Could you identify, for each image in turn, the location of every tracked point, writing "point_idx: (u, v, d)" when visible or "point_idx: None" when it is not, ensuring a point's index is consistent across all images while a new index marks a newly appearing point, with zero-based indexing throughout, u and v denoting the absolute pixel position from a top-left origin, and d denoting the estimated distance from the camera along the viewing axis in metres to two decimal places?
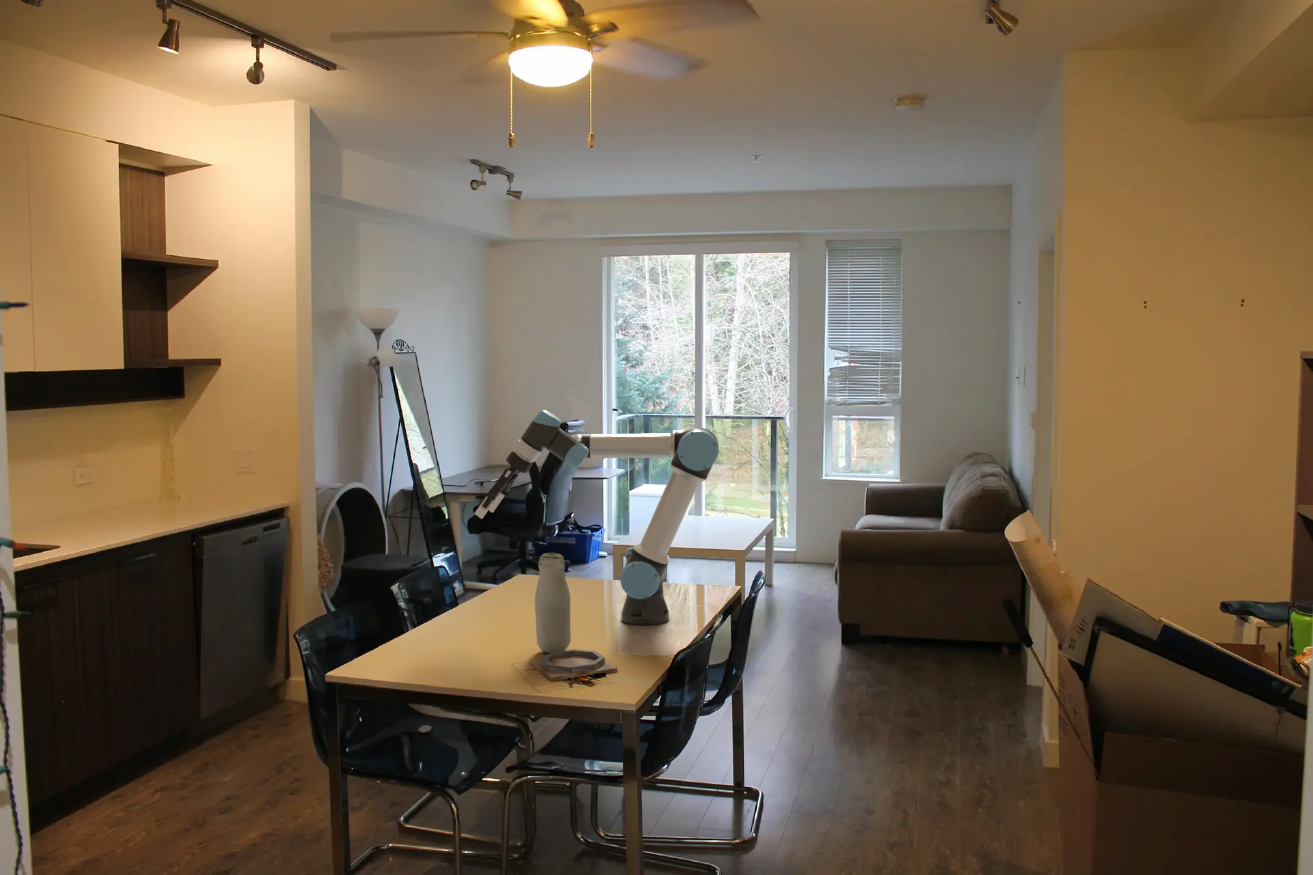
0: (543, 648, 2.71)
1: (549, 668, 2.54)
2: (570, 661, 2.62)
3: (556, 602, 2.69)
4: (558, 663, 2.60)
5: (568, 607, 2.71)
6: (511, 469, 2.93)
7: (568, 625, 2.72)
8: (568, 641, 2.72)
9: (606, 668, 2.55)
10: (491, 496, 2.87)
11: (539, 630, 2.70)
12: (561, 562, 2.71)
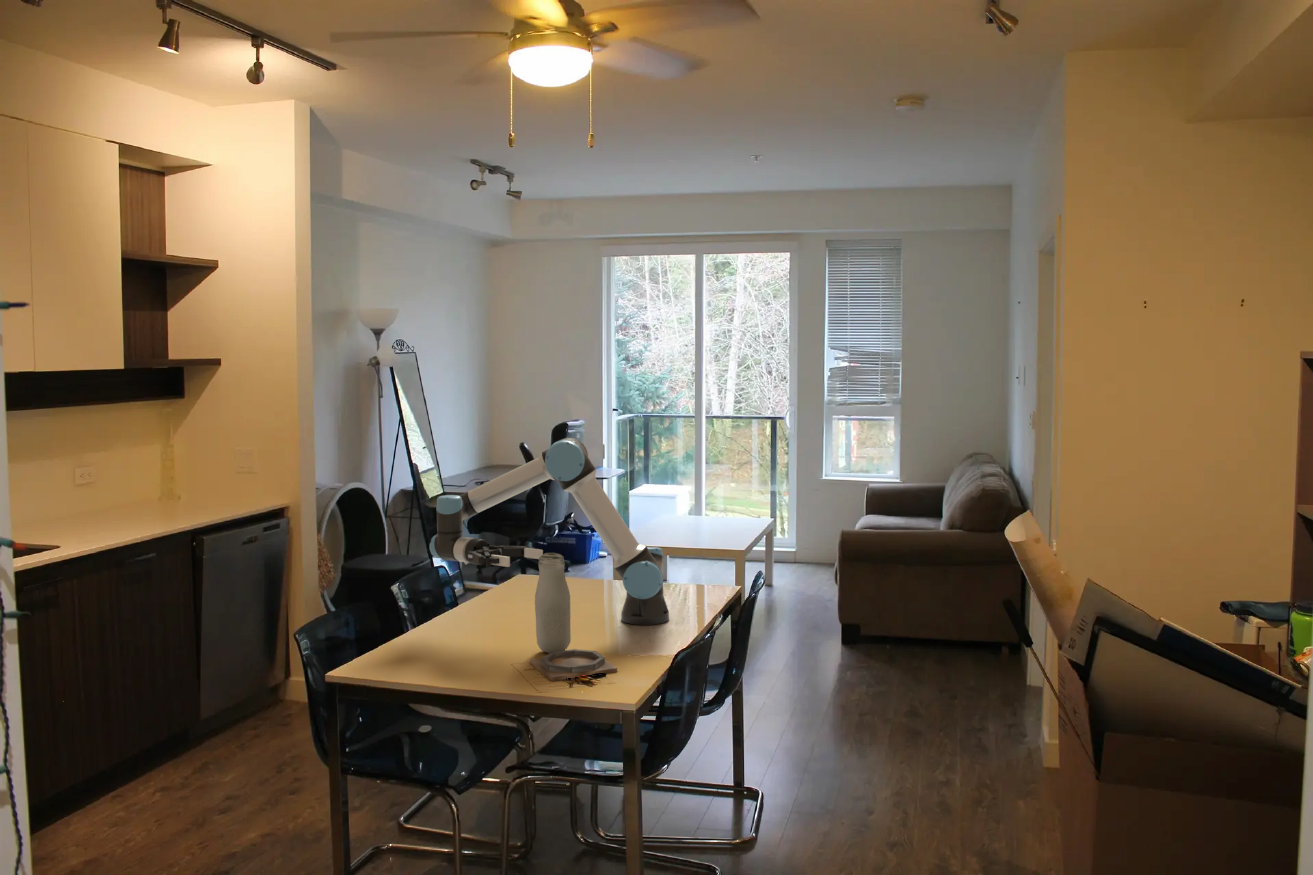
0: (543, 648, 2.71)
1: (549, 668, 2.54)
2: (570, 661, 2.62)
3: (556, 602, 2.69)
4: (558, 663, 2.60)
5: (568, 607, 2.71)
6: None
7: (568, 625, 2.72)
8: (568, 641, 2.72)
9: (606, 668, 2.55)
10: (480, 559, 2.75)
11: (539, 630, 2.70)
12: (561, 562, 2.71)
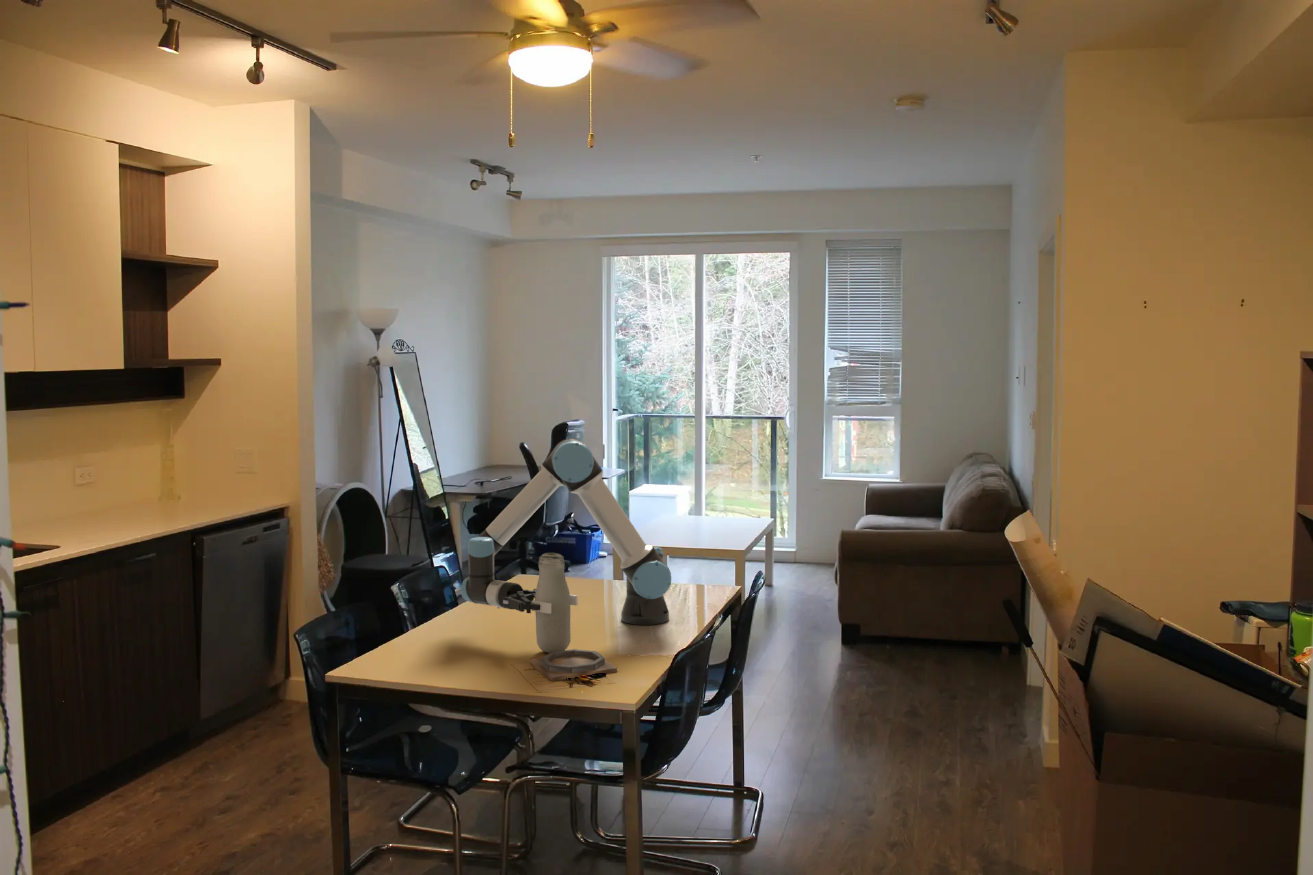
0: (543, 648, 2.71)
1: (549, 668, 2.54)
2: (570, 661, 2.62)
3: (556, 602, 2.69)
4: (558, 663, 2.60)
5: (568, 607, 2.71)
6: None
7: (568, 625, 2.72)
8: (568, 641, 2.72)
9: (606, 668, 2.55)
10: (520, 606, 2.69)
11: (539, 630, 2.70)
12: (561, 562, 2.71)
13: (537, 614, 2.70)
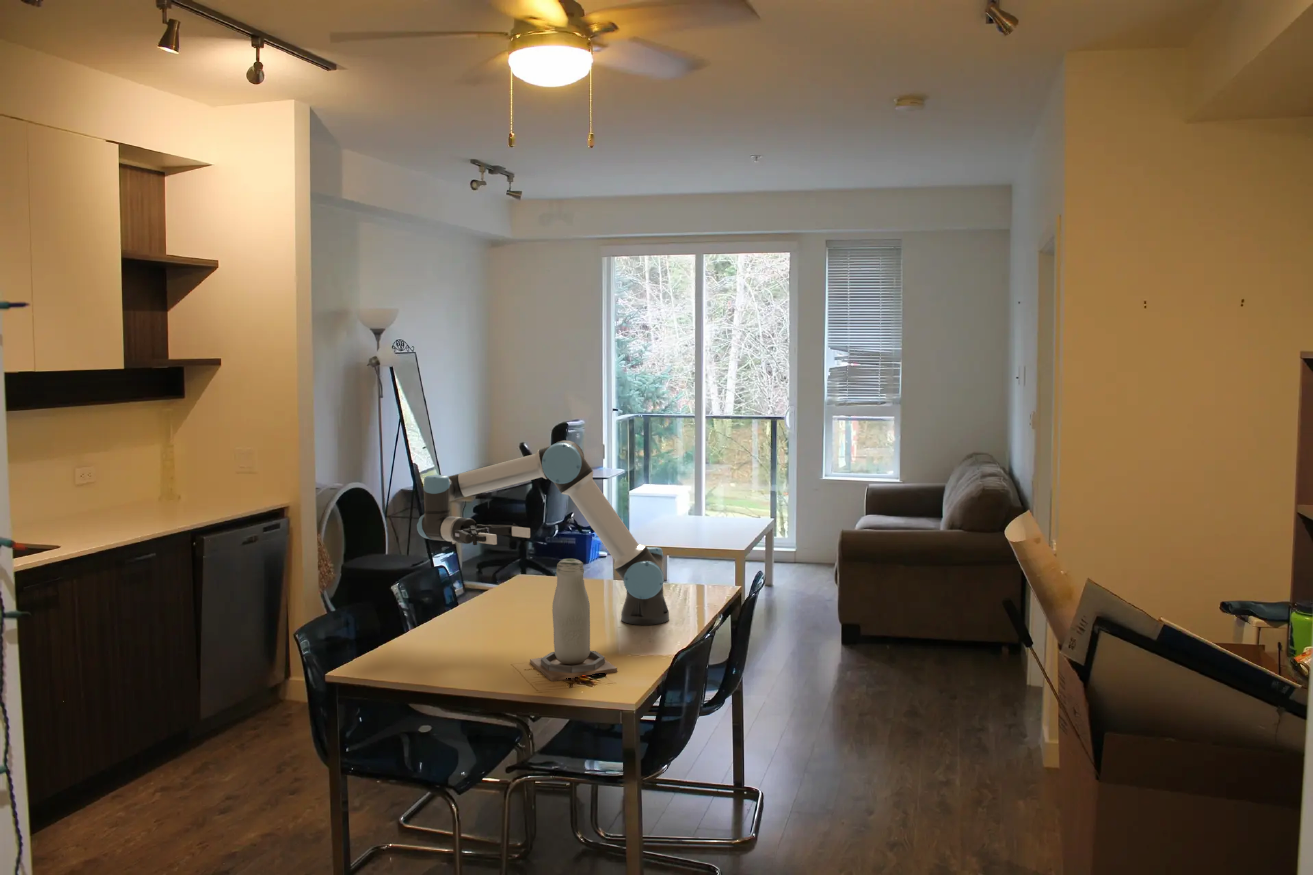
0: (561, 659, 2.56)
1: (549, 668, 2.54)
2: None
3: (575, 610, 2.54)
4: (558, 663, 2.60)
5: (588, 616, 2.57)
6: None
7: (588, 635, 2.57)
8: (588, 652, 2.58)
9: (606, 668, 2.55)
10: (466, 537, 2.74)
11: (557, 640, 2.56)
12: (580, 569, 2.56)
13: (555, 624, 2.56)
